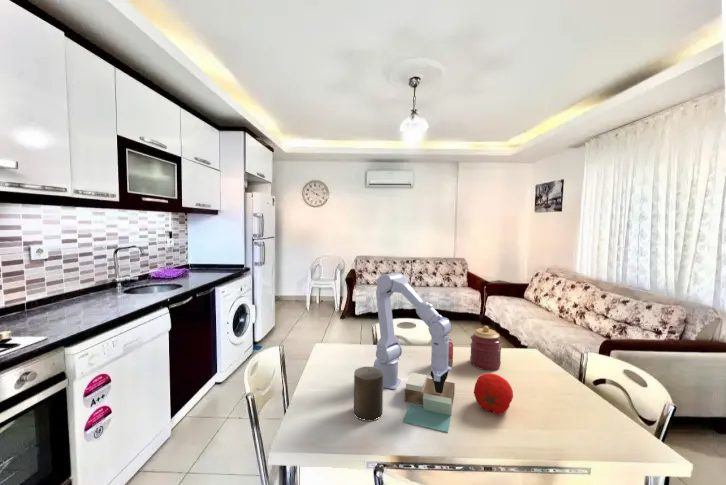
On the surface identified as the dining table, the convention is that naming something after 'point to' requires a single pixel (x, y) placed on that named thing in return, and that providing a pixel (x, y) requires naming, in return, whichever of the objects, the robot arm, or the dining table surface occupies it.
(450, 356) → the soda can
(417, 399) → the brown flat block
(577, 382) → the dining table surface
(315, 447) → the dining table surface
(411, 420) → the mat
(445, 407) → the pale green block
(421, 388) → the off-white flat block
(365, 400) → the pillar candle
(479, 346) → the canister
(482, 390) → the tomato
